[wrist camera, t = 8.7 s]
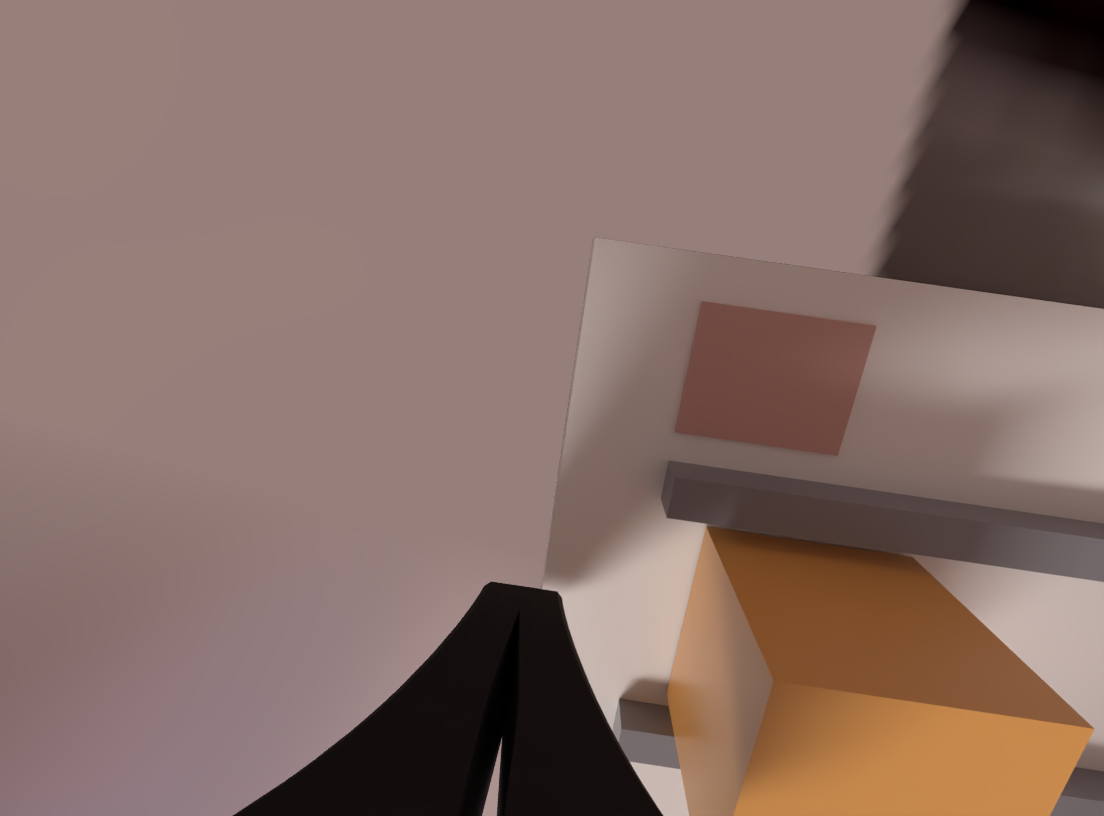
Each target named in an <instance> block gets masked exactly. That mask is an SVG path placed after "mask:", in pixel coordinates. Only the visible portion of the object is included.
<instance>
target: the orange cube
mask: <svg viewBox="0 0 1104 816" xmlns="http://www.w3.org/2000/svg"><path fill="white" fill-rule="evenodd" d="M666 694H667V700H668V705H669V710H670V716H671V721H672V726H673V732H674V737H675V742H676V748H677V753H678V758H679V764H680V769H681V774H682V780H683V785H684V790H685V796H686V801H687V806H688V812H689V816H1050V814H1051V812H1052V811H1053V809H1054V807H1055V805H1056V803H1057V801H1058V799H1059V797H1060V795H1061V793H1062V791H1063V789H1064V787H1065V785H1066V783H1067V781H1068V780H1069V778H1070V776H1071V774H1072V772H1073V770H1074V768H1075V766H1076V764H1077V762H1078V760H1079V758H1080V756H1081V754H1082V752H1083V751H1084V749H1085V747H1086V745H1087V743H1088V741H1089V739H1090V737H1091V735H1092V733H1093V731H1094V728H1093V727H1092V726H1091V725H1090V724H1089V723H1088V722H1087V721H1086V720H1085V719H1084V718H1083V717H1081V716H1080V715H1079V714H1078V713H1077V712H1076V711H1075V710H1074V709H1073V708H1072V707H1071V706H1070V705H1069V704H1068V703H1067V702H1066V701H1065V700H1063V699H1062V698H1061V697H1060V696H1059V695H1058V694H1057V693H1056V692H1055V691H1054V690H1053V689H1052V688H1051V687H1050V686H1049V685H1048V684H1047V683H1045V682H1044V681H1043V680H1042V679H1041V678H1040V677H1039V676H1038V675H1037V674H1036V673H1035V672H1034V671H1033V670H1032V669H1031V668H1030V667H1029V666H1027V665H1026V664H1025V663H1024V662H1023V661H1022V660H1021V659H1020V658H1019V657H1018V656H1017V655H1016V654H1015V653H1014V652H1013V651H1012V650H1011V649H1009V648H1008V647H1007V646H1006V645H1005V644H1004V643H1003V642H1002V641H1001V640H1000V639H999V638H998V637H997V636H996V635H995V634H994V633H993V632H991V631H990V630H989V629H988V628H987V627H986V626H985V625H984V624H983V623H982V622H981V621H980V620H979V619H978V618H977V617H976V616H975V615H973V614H972V613H971V612H970V611H969V610H968V609H967V608H966V607H965V606H964V605H963V604H962V603H961V602H960V601H959V600H958V599H957V598H955V597H954V596H953V595H952V594H951V593H950V592H949V591H948V590H947V589H946V588H945V587H944V586H943V585H942V584H941V583H940V582H939V581H937V580H936V579H935V578H934V577H933V576H932V575H931V574H930V573H929V572H928V571H927V570H926V569H925V568H924V567H923V566H922V565H921V564H919V563H918V562H917V561H916V560H915V559H914V558H913V557H909V556H902V555H895V554H889V553H882V552H875V551H868V550H861V549H854V548H848V547H841V546H834V545H827V544H820V543H814V542H807V541H800V540H793V539H786V538H779V537H773V536H766V535H759V534H752V533H745V532H738V531H732V530H725V529H718V528H711V527H706V529H705V533H704V538H703V542H702V546H701V550H700V554H699V559H698V563H697V567H696V571H695V575H694V580H693V584H692V588H691V592H690V596H689V601H688V605H687V609H686V613H685V617H684V622H683V626H682V630H681V634H680V638H679V643H678V647H677V651H676V655H675V659H674V664H673V668H672V672H671V676H670V680H669V685H668V689H667V693H666Z"/></svg>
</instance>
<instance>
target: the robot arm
mask: <svg viewBox="0 0 1104 816" xmlns="http://www.w3.org/2000/svg"><path fill="white" fill-rule="evenodd" d="M501 739H502V748H501V762H500V778H499V792H498V807H497V816H663V814H662V813H661V811H660V810H659V808H658V807H657V805H656V804H655V802H654V800H653V799H652V797H651V796H650V794H649V793H648V791H647V790H646V788H645V786H644V785H643V783H642V782H641V780H640V779H639V777H638V775H637V774H636V772H635V770H634V768H633V767H632V765H631V763H630V762H629V760H628V758H627V757H626V755H625V753H624V751H623V750H622V748H621V746H620V744H619V742H618V741H617V739H616V737H615V735H614V733H613V731H612V729H611V727H610V725H609V723H608V721H607V719H606V717H605V715H604V713H603V711H602V709H601V707H600V705H599V703H598V701H597V699H596V697H595V694H594V692H593V690H592V688H591V685H590V683H589V681H588V678H587V676H586V673H585V671H584V668H583V666H582V663H581V661H580V658H579V656H578V653H577V651H576V648H575V645H574V642H573V639H572V636H571V633H570V630H569V627H568V623H567V620H566V616H565V612H564V607H563V601H562V597H561V596H560V594H559V593H558V592H557V591H551V590H544V589H537V588H531V587H524V586H517V585H510V584H503V583H497V582H490V583H488V584H487V585H485V586H484V587H483V589H482V591H481V593H480V594H479V596H478V597H477V599H476V600H475V602H474V603H473V605H472V606H471V607H470V609H469V610H468V611H467V613H466V614H465V616H464V617H463V618H462V619H461V621H460V622H459V623H458V625H457V626H456V627H455V628H454V629H453V630H452V632H451V633H450V634H449V635H448V636H447V638H446V639H445V640H444V641H443V642H442V644H441V645H440V646H439V647H438V648H437V649H436V650H435V652H434V653H433V654H432V655H431V656H430V657H429V658H428V659H427V660H426V661H425V662H424V663H423V664H422V665H421V666H420V667H419V668H418V669H417V670H416V671H415V672H414V674H413V675H412V676H411V677H410V678H409V679H408V680H407V681H406V682H405V683H404V684H403V685H402V686H401V687H400V688H399V689H398V690H397V691H396V692H395V693H394V694H392V695H391V696H390V697H389V698H388V699H387V700H386V701H385V702H384V703H383V704H382V705H381V706H380V707H378V708H377V709H376V710H375V711H374V712H373V713H372V714H370V715H369V716H368V717H367V718H366V719H365V720H364V721H362V722H361V723H360V724H359V725H358V726H357V727H355V728H354V729H353V730H352V731H351V732H349V733H348V734H347V735H346V736H344V737H343V738H342V739H340V740H339V741H338V742H337V743H336V744H334V745H333V746H332V747H330V748H329V749H328V750H327V751H325V752H324V753H323V754H322V755H320V756H319V757H318V758H316V759H315V760H314V761H312V762H311V763H310V764H308V765H307V766H306V767H304V768H303V769H301V770H300V771H299V772H297V773H296V774H295V775H293V776H292V777H290V778H289V779H287V780H286V781H285V782H283V783H282V784H280V785H279V786H277V787H276V788H274V789H273V790H271V791H269V792H268V793H266V794H265V795H263V796H262V797H260V798H259V799H257V800H256V801H254V802H253V803H251V804H250V805H248V806H247V807H245V808H244V809H242V810H241V811H239V812H238V813H236V814H235V815H233V816H482V813H483V809H484V805H485V801H486V798H487V794H488V789H489V786H490V782H491V778H492V774H493V770H494V766H495V762H496V758H497V754H498V750H499V746H500V743H501Z"/></svg>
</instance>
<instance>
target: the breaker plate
mask: <svg viewBox="0 0 1104 816" xmlns="http://www.w3.org/2000/svg"><path fill="white" fill-rule="evenodd" d="M706 527H711V528H718V529H725V530H732V531H738V532H745V533H752V534H759V535H766V536H773V537H779V538H786V539H793V540H800V541H807V542H814V543H820V544H827V545H834V546H841V547H848V548H854V549H861V550H868V551H875V552H882V553H889V554H895V555H902V556H909V557H913V558H914V559H915V560H916V561H917V562H918V563H919V564H921V565H922V566H923V567H924V568H925V569H926V570H927V571H928V572H929V573H930V574H931V575H932V576H933V577H934V578H935V579H936V580H937V581H939V582H940V583H941V584H942V585H943V586H944V587H945V588H946V589H947V590H948V591H949V592H950V593H951V594H952V595H953V596H954V597H955V598H957V599H958V600H959V601H960V602H961V603H962V604H963V605H964V606H965V607H966V608H967V609H968V610H969V611H970V612H971V613H972V614H973V615H975V616H976V617H977V618H978V619H979V620H980V621H981V622H982V623H983V624H984V625H985V626H986V627H987V628H988V629H989V630H990V631H991V632H993V633H994V634H995V635H996V636H997V637H998V638H999V639H1000V640H1001V641H1002V642H1003V643H1004V644H1005V645H1006V646H1007V647H1008V648H1009V649H1011V650H1012V651H1013V652H1014V653H1015V654H1016V655H1017V656H1018V657H1019V658H1020V659H1021V660H1022V661H1023V662H1024V663H1025V664H1026V665H1027V666H1029V667H1030V668H1031V669H1032V670H1033V671H1034V672H1035V673H1036V674H1037V675H1038V676H1039V677H1040V678H1041V679H1042V680H1043V681H1044V682H1045V683H1047V684H1048V685H1049V686H1050V687H1051V688H1052V689H1053V690H1054V691H1055V692H1056V693H1057V694H1058V695H1059V696H1060V697H1061V698H1062V699H1063V700H1065V701H1066V702H1067V703H1068V704H1069V705H1070V706H1071V707H1072V708H1073V709H1074V710H1075V711H1076V712H1077V713H1078V714H1079V715H1080V716H1081V717H1083V718H1084V719H1085V720H1086V721H1087V722H1088V723H1089V724H1090V725H1091V726H1092V727H1093V728H1094V731H1093V733H1092V735H1091V737H1090V739H1089V741H1088V743H1087V745H1086V747H1085V749H1084V751H1083V752H1082V754H1081V756H1080V758H1079V760H1078V762H1077V764H1076V766H1075V768H1074V770H1073V772H1072V774H1071V776H1070V778H1069V780H1068V781H1067V783H1066V785H1065V787H1064V789H1063V791H1062V793H1061V795H1060V797H1059V799H1058V801H1057V803H1056V805H1055V807H1054V809H1053V811H1052V812H1051V814H1050V816H1104V309H1100V308H1093V307H1086V306H1079V305H1072V304H1065V303H1058V302H1050V301H1043V300H1036V299H1029V298H1022V297H1015V296H1008V295H1001V294H994V293H987V292H979V291H972V290H965V289H958V288H951V287H944V286H937V285H930V284H923V283H916V282H909V281H901V280H894V279H887V278H880V277H873V276H866V275H859V274H852V273H845V272H838V271H831V270H823V269H816V268H809V267H802V266H795V265H787V264H781V263H774V262H767V261H759V260H752V259H745V258H738V257H731V256H724V255H717V254H710V253H703V252H695V251H688V250H681V249H674V248H667V247H660V246H653V245H646V244H639V243H632V242H624V241H618V240H611V239H604V238H594V239H593V241H592V248H591V255H590V262H589V268H588V275H587V282H586V288H585V295H584V302H583V308H582V315H581V322H580V328H579V335H578V342H577V349H576V356H575V362H574V369H573V375H572V382H571V389H570V395H569V403H568V409H567V415H566V423H565V429H564V436H563V442H562V449H561V456H560V463H559V470H558V476H557V482H556V489H555V496H554V503H553V509H552V516H551V522H550V529H549V536H548V543H547V549H546V556H545V563H544V569H543V576H542V583H541V589H544V590H551V591H557V592H558V593H559V594H560V596H561V597H562V601H563V607H564V612H565V616H566V620H567V623H568V627H569V630H570V633H571V636H572V639H573V642H574V645H575V648H576V651H577V653H578V656H579V658H580V661H581V663H582V666H583V668H584V671H585V673H586V676H587V678H588V681H589V683H590V685H591V688H592V690H593V692H594V694H595V697H596V699H597V701H598V703H599V705H600V707H601V709H602V711H603V713H604V715H605V717H606V719H607V721H608V723H609V725H610V727H611V729H612V731H613V733H614V735H615V737H616V739H617V741H618V742H619V744H620V746H621V748H622V750H623V751H624V753H625V755H626V757H627V758H628V760H629V762H630V763H631V765H632V767H633V768H634V770H635V772H636V774H637V775H638V777H639V779H640V780H641V782H642V783H643V785H644V786H645V788H646V790H647V791H648V793H649V794H650V796H651V797H652V799H653V800H654V802H655V804H656V805H657V807H658V808H659V810H660V811H661V813H662V814H663V816H689V812H688V806H687V801H686V796H685V790H684V785H683V780H682V774H681V769H680V764H679V758H678V753H677V748H676V742H675V737H674V732H673V726H672V721H671V716H670V710H669V705H668V700H667V694H666V693H667V689H668V685H669V680H670V676H671V672H672V668H673V664H674V659H675V655H676V651H677V647H678V643H679V638H680V634H681V630H682V626H683V622H684V617H685V613H686V609H687V605H688V601H689V596H690V592H691V588H692V584H693V580H694V575H695V571H696V567H697V563H698V559H699V554H700V550H701V546H702V542H703V538H704V533H705V529H706Z"/></svg>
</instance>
